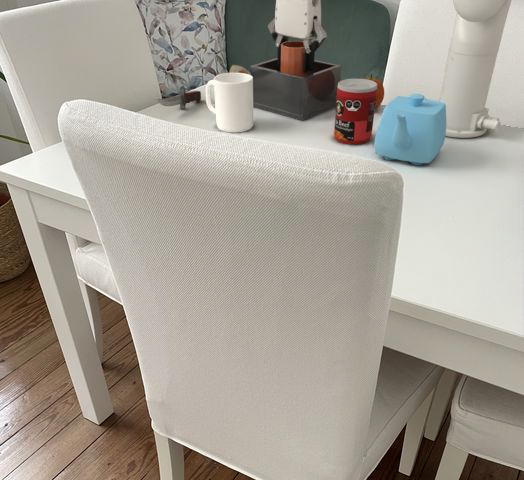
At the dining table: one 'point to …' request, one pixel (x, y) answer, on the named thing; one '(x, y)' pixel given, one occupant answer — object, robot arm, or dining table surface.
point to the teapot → (411, 129)
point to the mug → (238, 69)
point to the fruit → (378, 91)
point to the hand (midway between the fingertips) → (295, 67)
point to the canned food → (355, 111)
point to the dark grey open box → (295, 89)
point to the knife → (181, 98)
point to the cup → (232, 101)
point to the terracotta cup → (292, 58)
